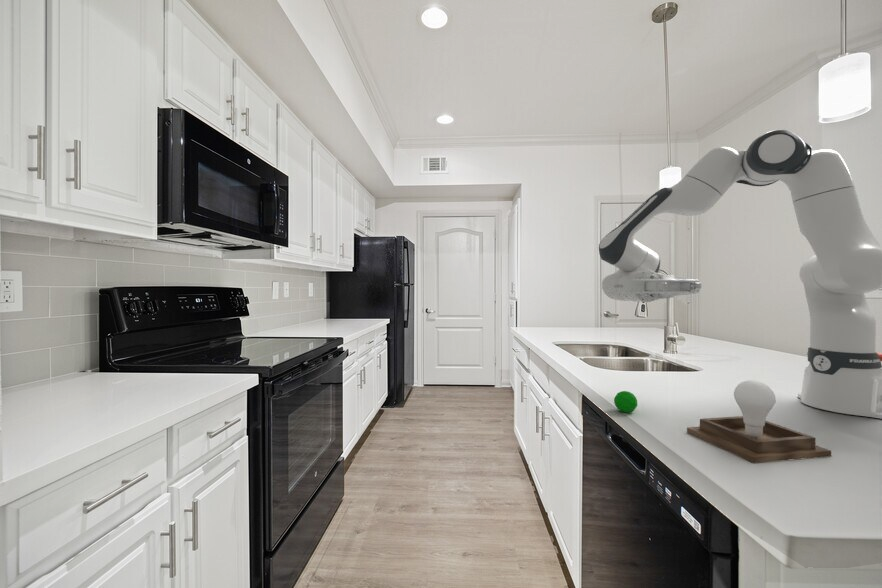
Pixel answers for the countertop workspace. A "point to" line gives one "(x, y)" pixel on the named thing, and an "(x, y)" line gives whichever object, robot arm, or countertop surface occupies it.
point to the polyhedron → (625, 402)
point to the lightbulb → (754, 405)
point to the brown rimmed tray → (757, 440)
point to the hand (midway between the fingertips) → (682, 286)
